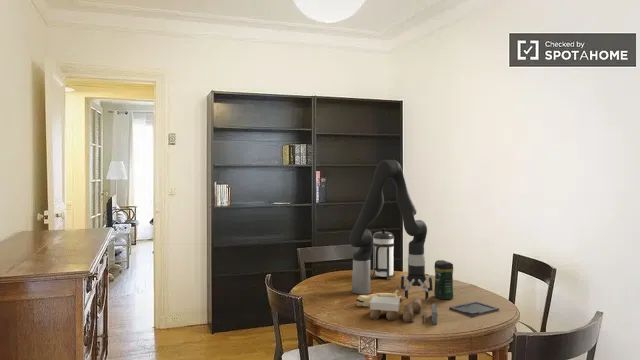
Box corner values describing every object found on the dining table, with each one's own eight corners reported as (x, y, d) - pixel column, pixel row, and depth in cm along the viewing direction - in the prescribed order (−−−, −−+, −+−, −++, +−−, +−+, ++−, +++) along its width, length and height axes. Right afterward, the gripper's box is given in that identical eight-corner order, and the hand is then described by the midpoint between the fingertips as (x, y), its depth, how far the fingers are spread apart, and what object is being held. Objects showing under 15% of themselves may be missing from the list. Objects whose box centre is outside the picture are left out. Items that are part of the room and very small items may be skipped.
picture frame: (472, 318, 195) (499, 311, 204) (472, 313, 195) (499, 307, 204) (449, 310, 207) (475, 304, 216) (449, 305, 207) (475, 300, 216)
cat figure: (392, 300, 226) (351, 303, 214) (393, 283, 226) (352, 284, 214) (405, 305, 217) (362, 308, 205) (406, 287, 217) (363, 289, 205)
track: (369, 319, 192) (369, 309, 192) (373, 310, 204) (373, 302, 204) (425, 323, 186) (425, 314, 186) (425, 314, 198) (425, 305, 198)
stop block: (432, 324, 186) (432, 312, 186) (431, 315, 197) (431, 304, 197) (437, 324, 185) (437, 312, 185) (436, 315, 197) (436, 304, 197)
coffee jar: (455, 299, 223) (456, 262, 222) (441, 300, 220) (442, 263, 220) (445, 294, 232) (445, 258, 232) (431, 295, 230) (432, 259, 230)
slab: (370, 309, 193) (370, 302, 193) (373, 302, 203) (373, 296, 203) (398, 311, 190) (398, 304, 190) (399, 304, 200) (399, 298, 200)
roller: (411, 313, 201) (411, 304, 200) (412, 305, 212) (412, 297, 212) (420, 314, 200) (421, 305, 200) (420, 306, 211) (421, 298, 211)
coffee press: (365, 275, 275) (365, 226, 274) (390, 274, 279) (390, 226, 278) (375, 282, 258) (376, 230, 257) (401, 280, 262) (401, 229, 261)
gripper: (400, 264, 204) (400, 300, 204) (432, 265, 200) (432, 302, 200) (401, 261, 211) (401, 295, 211) (432, 262, 207) (432, 297, 207)
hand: (416, 298), depth 205 cm, fingers open, 8 cm apart
